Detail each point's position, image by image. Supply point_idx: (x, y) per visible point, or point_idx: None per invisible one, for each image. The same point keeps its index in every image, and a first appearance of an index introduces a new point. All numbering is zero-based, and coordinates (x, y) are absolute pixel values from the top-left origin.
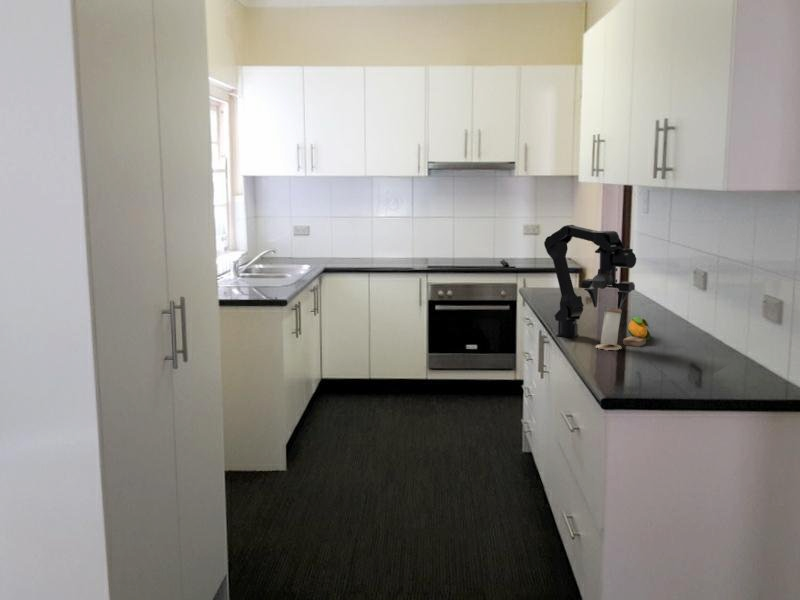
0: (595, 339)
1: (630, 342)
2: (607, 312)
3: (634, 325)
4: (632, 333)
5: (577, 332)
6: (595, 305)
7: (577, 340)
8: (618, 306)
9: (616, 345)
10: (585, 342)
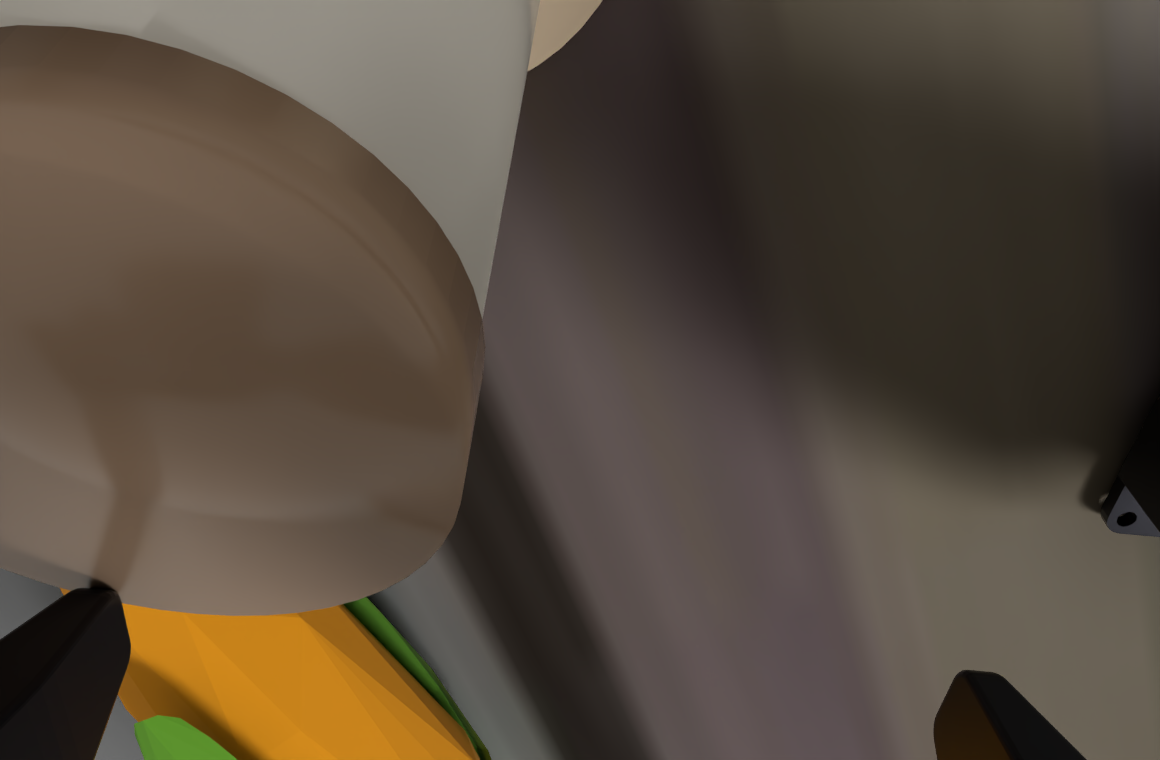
0: (812, 387)
1: None
2: (213, 39)
3: (288, 713)
4: (338, 607)
5: (1133, 490)
6: (980, 726)
7: (1077, 207)
8: (19, 662)
9: None
10: (919, 118)
